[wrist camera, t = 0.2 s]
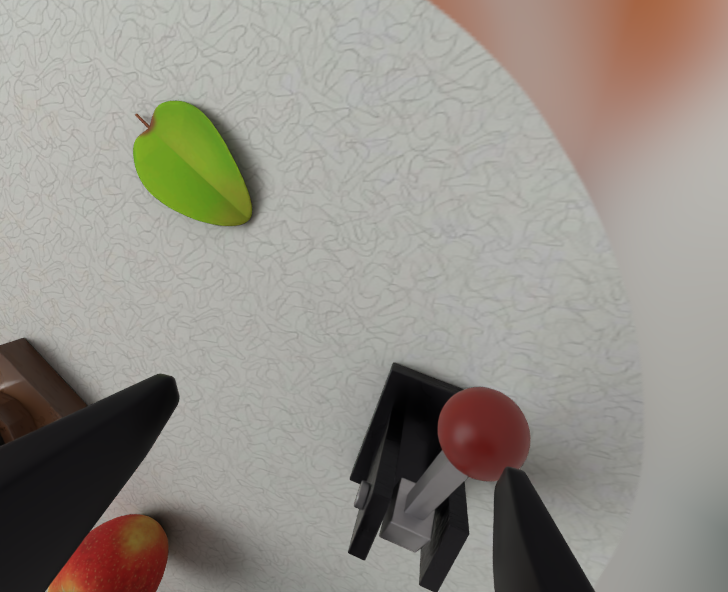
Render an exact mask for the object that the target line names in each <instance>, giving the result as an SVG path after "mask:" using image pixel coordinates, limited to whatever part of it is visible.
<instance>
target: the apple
mask: <svg viewBox="0 0 728 592" xmlns="http://www.w3.org/2000/svg"><path fill="white" fill-rule="evenodd" d="M168 552H169V545H168V539H167V536H166V533H165V531H164V530H163V528H162V527H161V525H160V524H159V523H158V522H157V521H156V520H154V519H153V518H151V517H148V516H145V515H140V514H130V515H125V516H120V517H117V518H114V519H112V520H110V521H107V522H105V523H103V524H101V525H100V526H98V527H96V528H95V529H93V530H92V531H90V532H89V533H88V535H87V536H86V537H85V539H84V540H83V541H82V543H81V544H80V545H79V547H78V548H77V549H76V551H75V552H74V554H73V555H72V556H71V558H70V559H69V560H68V562H67V563H66V564H65V566H64V567H63V568H62V570H61V571H60V572H59V574H58V575H57V576H56V578H55V579H54V580H53V582H52V583H51V584H50V586H49V588H48V592H156V591H157V589H158V586H159V584H160V582H161V579H162V577H163V574H164V571H165V568H166V564H167V559H168Z"/></svg>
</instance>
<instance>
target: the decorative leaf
mask: <svg viewBox="0 0 728 592" xmlns="http://www.w3.org/2000/svg"><path fill="white" fill-rule="evenodd" d="M135 115H136V117H137V118H138V119H139V120H140V121H141V122H142V123H143V124H144V125H145V126H146V127H147V128H148V129H147V130H146V131H145V132H143V133H142V134H141V135H139V136H138V137H137V139H136V140H135V143H134V147H133V157H134V163H135V167H136V171H137V173H138V176H139V178H140V180H141V182H142V183H143V185H144V186H145V188H146V189H147V190H148V191H149V192H150V193H151V194H152V195H153V196H154V197H155V198H156V199H158V200H159V201H160V202H162V203H163V204H165V205H166V206H168V207H169V208H171V209H173V210H175V211H177V212H179V213H181V214H183V215H185V216H188V217H190V218H193V219H195V220H198V221H202V222H205V223H209V224H214V225H220V226H237V225H241V224H244V223H246V222H247V221H248V220H250V218H251V216H252V204H251V199H250V196H249V193H248V190H247V187H246V185H245V182H244V180H243V178H242V175H241V173H240V171H239V169H238V167H237V165H236V163H235V161H234V159H233V157H232V155H231V153H230V151H229V149H228V148H227V146H226V144H225V142H224V141H223V139H222V137H221V136H220V134H219V133H218V131H217V130H216V128H215V127H214V125H213V124H212V123H211V121H210V120H209V119H208V118H207V117H206V116H205V115H204V113H202V112H201V111H200V110H199V109H198V108H196V107H195V106H193V105H191V104H189V103H186V102H182V101H168V102H164V103H162V104H160V105H159V106H158V107H157V108H156V109H155V111H154V113H153V116H152V120H151V123H150V126H149V125H148V124H147V123H146V122H145V121H144V120H143V119H142V118H141V117H140V116H139V115H138V114H135Z"/></svg>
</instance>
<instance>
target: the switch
mask: <svg viewBox="0 0 728 592" xmlns="http://www.w3.org/2000/svg"><path fill="white" fill-rule="evenodd" d="M438 437H439V442H440V445H441V448H442V451H441V452H440V453H439V455H438V456H437V457H436V458H435V460H434V461H433V462H432V464H431V465H430V466H429V467H428V469H427V470H426V471H425V472H424V474H423V475H422V476H421V478H420V479H419V480H418V481H417V483H414V482H412V481H409V480H407V479H405V478H402V477H401V478H400V480H399V481H398V483H397V484H396V486H395V487H394V488H393V493H392V500H391V502H390V505H389V507H388V509H387V512H386V514H385V516H384V518H383V522H382V526H381V530H380V534H379V536H380V537H381V538H383V539H385V540H388V541H390V542H392V543H394V544H397V545H399V546H401V547H403V548H406V549H408V550H410V551H413V552H417V551H418V550H419V549H421V548H422V547H423V546H424V545H426V544H427V543H428V542H429V541H430V540H431V538H432V531H433V525H434V518H435V512H436V508H437V507H438V506H439V505H440V504H441V503H442V502H443V501H444V500H445V499H446V498H447V497H448V496H449V495H450V494H451V493H452V492H453V491H454V490H455V489H456V488H457V487H458V486H459V485H461V484H462V483H463V482H464V481H465V480H466V479H467V478H468V477H471V478H473V479H476V480H481V481H498V480H499V478H500V476H501V474H502V472H503V470H504V469H505V467H507V466H508V467H513V468H516V469H520V467H521V466H522V465H523V463H524V462H525V460H526V458H527V456H528V453H529V449H530V430H529V426H528V423H527V420H526V418H525V416H524V414H523V413H522V411H521V410H520V408H519V407H518V406H517V405H516V404H515V402H514V401H513V400H511V399H510V398H509V397H507V396H506V395H505V394H503V393H501V392H499V391H496V390H494V389H490V388H485V387H472V388H467V389H464V390H462V391H460V392H458V393H456V394H455V395H453V396H452V397H451V398H450V399H449V400H448V401H447V402H446V404H445V405H444V407H443V409H442V411H441V413H440V416H439V420H438Z"/></svg>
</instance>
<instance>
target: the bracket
mask: <svg viewBox="0 0 728 592" xmlns="http://www.w3.org/2000/svg"><path fill="white" fill-rule="evenodd" d="M462 390H464V389H461V388H458V387H456V386H453V385H451V384H448V383H445V382H443V381H440V380H438V379H435V378H432V377H430V376H427V375H425V374H422V373H419V372H417V371H414V370H412V369H409V368H406V367H404V366H401V365H399V364H396V363H393V364H392V367H391V370H390V372H389V375H388V377H387V380H386V383H385V385H384V388H383V391H382V393H381V396H380V399H379V401H378V404H377V406H376V409H375V412H374V414H373V417H372V420H371V422H370V425H369V428H368V430H367V433H366V435H365V438H364V441H363V443H362V446H361V449H360V451H359V454H358V457H357V459H356V462H355V464H354V467H353V470H352V473H351V476H350V480H351V481H354V482H356V483H358V484H360V487H359V490H358V493H357V496H356V499H355V502H354V507H356V508H358V509H359V511H358V515H357V519H356V523H355V527H354V531H353V535H352V538H351V542H350V546H349V550H348V553H349V554H351V555H353V556H355V557H358V558H360V559H362V560H366V557H367V555H368V553H369V550H370V548H371V546H372V544H373V541H374V539H375V537H376V534H377V532H378V530H379V528H380V525H381V523H382V521H383V518H384V516H385V514H386V512H387V509H388V507H389V505H390V502H391V500H392V493H393V488H394V487H395V486H396V484H397V483H398V481H399V480H400V478H401V477H402V478H405V479H407V480H409V481H412V482H414V483H417V481H418V480H419V479H420V478H421V476H422V475H423V474H424V472H425V471H426V470H427V469H428V467H429V466H430V465H431V464H432V462H433V461H434V460H435V458H436V457H437V456H438V455H439V453H440V452H441V451H442V448H441V445H440V442H439V437H438V420H439V416H440V413H441V411H442V409H443V407H444V405H445V404H446V402H447V401H448V400H449V399H450V398H451V397H452V396H453V395H455V394H456V393H458V392H460V391H462ZM468 536H469V524H468V514H467V503H466V492H465V482H463V483H462V484H461V485H459V486H458V487H457V488H456V489H455V490H454V491H453V492H452V493H451V494H450V495H449V496H448V497H447V498H446V499H445V500H444V501H443V502H442V503H441V504H440V505H439V506H438V507H437V508H436V512H435V518H434V525H433V531H432V538H431V540H430V541H429V542H428V543H427V544H426V545H424V546H423V547H422V548H421V558H420V577H419V585H420V586H422V587H424V588H426V589H428V590H431V591H433V592H438V590H439V588H440V587H441V585H442V583H443V581H444V579H445V577H446V576H447V574H448V572H449V570H450V568H451V567H452V565H453V563H454V561H455V559H456V557H457V556H458V554H459V552H460V550H461V548H462V546H463V545H464V543H465V541H466V539H467V537H468Z"/></svg>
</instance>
